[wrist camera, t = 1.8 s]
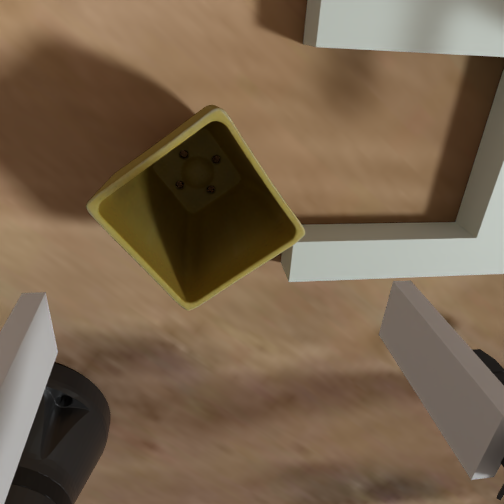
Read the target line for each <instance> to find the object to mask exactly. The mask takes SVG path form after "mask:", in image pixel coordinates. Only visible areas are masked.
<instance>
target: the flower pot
mask: <svg viewBox="0 0 504 504" xmlns="http://www.w3.org/2000/svg"><path fill="white" fill-rule="evenodd" d="M182 150H185V151H187V152H188V156H187V157H186V158H182V157H181V156H180V152H181V151H182ZM215 155H217V156H219V158H220V161H219V162H218V163H214V162H213V161H212V157H213V156H215ZM178 181H182V182H183V183H184V186H183V187H182V188H178V187H177V186H176V183H177V182H178ZM208 186H214V188H215V190H214V191H213V192H208V191H207V188H208ZM86 208H87V210H88V212H89V213H90V215H91V216H92V217H93V218H94V219H95V220H96V221H97V222H98V223H99V224H100V225H101V226H102V228H103V229H104V230H106V232H107V233H108V234H109V235H110V236H111V237H112V238H113V239H114V240H115V241H116V242H117V243H118V244H119V245H120V246H121V247H122V248H123V249H124V250H125V251H126V252H127V253H128V254H129V255H130V256H131V257H132V258H133V259H134V260H135V261H136V262H137V263H138V264H139V265H140V266H141V267H142V268H143V269H144V270H145V271H146V272H147V273H148V274H149V275H150V276H151V277H152V278H153V279H154V280H155V281H156V282H157V283H158V284H159V285H160V286H161V287H162V288H163V289H164V290H165V291H166V292H167V293H168V294H169V295H170V296H171V298H172V299H173V300H175V301H176V302H177V303H178V304H179V305H180V306H181V307H183V308H184V309H186V310H188V311H189V310H192V309H195V308H196V307H198V306H200V305H201V304H203V303H205V302H206V301H208V300H209V299H211V298H212V297H214V296H215V295H217V294H218V293H220V292H221V291H223V290H224V289H226V288H227V287H229V286H230V285H232V284H233V283H235V282H236V281H238V280H239V279H241V278H242V277H244V276H245V275H247V274H249V273H250V272H252V271H253V270H255V269H256V268H258V267H259V266H261V265H263V264H264V263H266V262H268V261H269V260H271V259H273V258H274V257H275V256H277V255H279V254H280V253H282V252H284V251H285V250H286V249H288V248H290V247H291V246H293V245H294V244H296V243H297V242H298V241H299V240H300V239H301V238H302V237H303V236H304V235H305V229H304V227H303V226H302V224H301V223H300V221H299V220H298V219H297V217H296V216H295V214H294V213H293V212H292V210H291V209H290V208H289V206H288V205H287V204H286V202H285V201H284V199H283V198H282V196H281V195H280V194H279V192H278V191H277V189H276V188H275V186H274V185H273V183H272V182H271V181H270V179H269V178H268V176H267V174H266V173H265V171H264V170H263V168H262V167H261V165H260V164H259V162H258V161H257V159H256V158H255V156H254V155H253V153H252V151H251V150H250V148H249V147H248V145H247V144H246V142H245V141H244V139H243V138H242V136H241V134H240V133H239V131H238V130H237V128H236V127H235V125H234V123H233V122H232V120H231V119H230V117H229V115H228V114H227V113H226V112H225V111H224V110H223V109H221V108H219V107H217V106H215V105H209V106H206V107H204V108H203V109H202V110H200V111H199V112H198V113H196V114H195V115H194V116H192V117H191V118H190V119H188V120H187V121H186V122H184V123H183V124H182V125H180V126H179V127H178V128H177V129H175V130H174V131H173V132H171V133H170V134H169V135H167V136H166V137H165V138H163V139H162V140H160V141H159V142H158V143H156V144H155V145H154V146H152V147H151V148H150V149H148V150H147V151H145V152H144V153H143V154H141V155H140V156H138V157H137V158H136V159H134V160H133V161H132V162H130V163H129V164H127V165H126V166H124V167H123V168H121V169H120V170H119V171H117V172H116V173H115V174H114V175H113V176H112V177H111V178H110V179H109V180H108V181H107V182H106V183H105V184H104V185H103V186H102V187H101V188H100V189H99V190H98V191H97V193H96V194H95V195H94V196H93V197H92V198H91V199H90V200H89V201H88V203H87V204H86Z"/></svg>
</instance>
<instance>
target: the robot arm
mask: <svg viewBox="0 0 504 504" xmlns="http://www.w3.org/2000/svg"><path fill="white" fill-rule="evenodd" d="M379 336H380V337H381V339H382V340H383V342H384V344H385V345H386V347H387V348H388V350H389V351H390V353H391V355H392V356H393V358H394V359H395V361H396V362H397V364H398V366H399V367H400V369H401V370H402V372H403V373H404V375H405V377H406V378H407V380H408V381H409V383H410V384H411V386H412V388H413V389H414V391H415V392H416V394H417V395H418V397H419V399H420V400H421V402H422V403H423V405H424V406H425V408H426V410H427V411H428V413H429V414H430V416H431V417H432V419H433V421H434V422H435V424H436V425H437V427H438V428H439V430H440V432H441V433H442V435H443V436H444V438H445V439H446V441H447V443H448V444H449V446H450V447H451V449H452V450H453V452H454V454H455V455H456V457H457V458H458V460H459V461H460V463H461V465H462V466H463V468H464V469H465V471H466V472H467V474H468V476H469V477H470V479H471V480H473V479H481V478H489V477H494V476H495V474H496V472H497V470H498V469H499V467H500V465H501V464H502V465H503V467H504V369H503V368H502V367H501V366H500V364H499V363H498V362H497V361H496V360H495V359H494V358H492V357H491V356H489V355H488V354H486V353H485V352H483V351H482V350H480V349H477V350H472V349H471V348H470V347H469V346H468V345H467V344H466V343H465V341H464V340H463V339H462V338H461V337H460V336H459V335H458V333H457V332H456V331H455V330H454V329H453V328H452V327H451V326H450V324H449V323H448V322H447V321H446V320H445V319H444V318H443V317H442V315H441V314H440V313H439V312H438V311H437V310H436V309H435V308H434V306H433V305H432V304H431V303H430V302H429V301H428V300H427V299H426V297H425V296H424V295H423V294H422V293H421V292H420V291H419V290H418V288H417V287H416V286H415V285H414V284H413V283H412V282H411V281H393V284H392V287H391V291H390V295H389V299H388V302H387V306H386V310H385V314H384V317H383V321H382V325H381V328H380V332H379ZM57 353H58V350H57V345H56V341H55V336H54V331H53V326H52V321H51V316H50V311H49V306H48V301H47V297H46V292H41V293H22V294H21V296H20V298H19V300H18V301H17V303H16V305H15V307H14V309H13V310H12V312H11V314H10V316H9V318H8V319H7V321H6V323H5V325H4V326H3V328H2V330H1V332H0V504H74V503H75V502H76V500H77V498H78V496H79V494H80V493H81V491H82V489H83V487H84V485H85V484H86V482H87V480H88V478H89V476H90V475H91V473H92V471H93V469H94V468H95V466H96V464H97V462H98V460H99V459H100V457H101V455H102V453H103V451H104V448H105V446H106V442H107V438H108V432H109V426H110V410H109V406H108V403H107V401H106V399H105V397H104V395H103V394H102V393H101V391H100V390H99V389H98V388H97V387H96V386H95V385H94V384H93V383H92V382H91V381H90V380H88V379H87V378H85V377H84V376H82V375H81V374H79V373H77V372H76V371H73V370H71V369H69V368H67V367H64V366H62V365H59V364H56V363H54V362H55V359H56V356H57ZM503 495H504V484H503V486H502V488H501V489H500V491H499V493H498V495H497V499H499V500H501V498H502V497H503Z"/></svg>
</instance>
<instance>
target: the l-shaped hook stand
mask: <svg viewBox="0 0 504 504" xmlns="http://www.w3.org/2000/svg"><path fill="white" fill-rule="evenodd" d="M303 44H305V45H309V46H313V47H324V48H343V49H362V50H381V51H400V52H419V53H437V54H456V55H475V56H494V57H504V0H307V9H306V19H305V29H304V39H303ZM302 226H303V227H304V229H305V235H304V236H303V237H302V238H301V239H300V240H299V241H298V242H297V243H296V244H294V245H293V246H291V247H290V248H288V249H286V250H285V251H284V252H282V256H281V264H282V266H283V269H284V271H285V274H286V276H287V279H288V281H289V282H302V281H328V280H354V279H380V278H406V277H432V276H458V275H484V274H504V69H503V72H502V76H501V79H500V82H499V85H498V88H497V91H496V95H495V98H494V101H493V104H492V107H491V110H490V114H489V117H488V120H487V123H486V126H485V129H484V133H483V136H482V139H481V142H480V145H479V148H478V152H477V155H476V158H475V161H474V164H473V167H472V171H471V174H470V177H469V180H468V183H467V186H466V190H465V193H464V196H463V199H462V202H461V205H460V209H459V212H458V215H457V218H456V221H455V222H427V223H366V224H304V225H302Z"/></svg>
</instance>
